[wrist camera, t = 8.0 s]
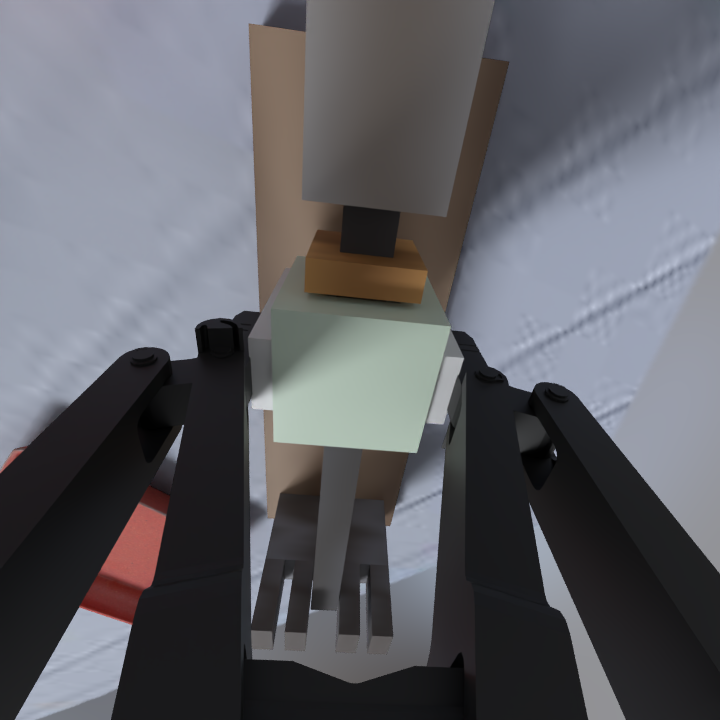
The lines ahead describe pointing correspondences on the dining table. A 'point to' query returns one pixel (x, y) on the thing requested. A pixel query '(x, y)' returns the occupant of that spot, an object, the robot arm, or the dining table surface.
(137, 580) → the plant saucer
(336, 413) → the sleeve
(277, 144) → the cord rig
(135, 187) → the dining table surface
